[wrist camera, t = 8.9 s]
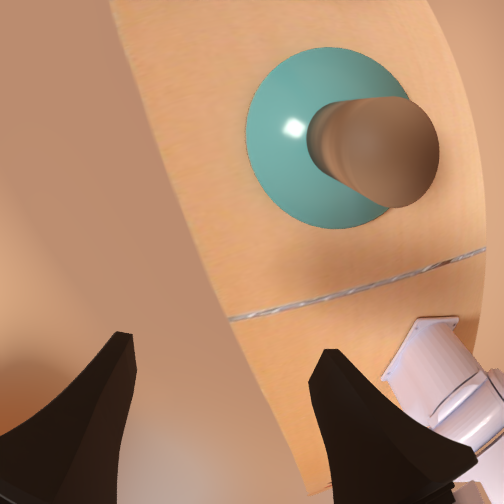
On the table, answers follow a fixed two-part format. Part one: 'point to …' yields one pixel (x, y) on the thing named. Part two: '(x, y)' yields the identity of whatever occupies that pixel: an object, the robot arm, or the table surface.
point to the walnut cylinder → (376, 148)
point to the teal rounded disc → (295, 129)
